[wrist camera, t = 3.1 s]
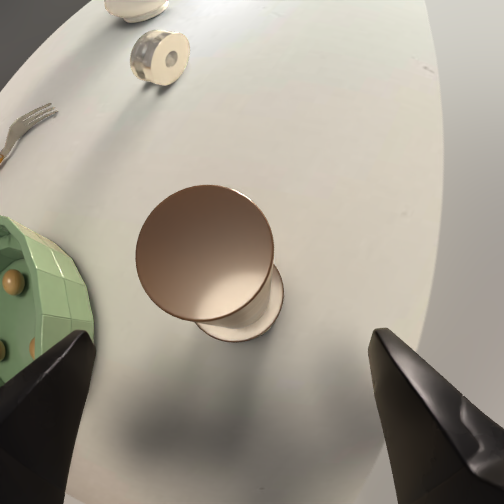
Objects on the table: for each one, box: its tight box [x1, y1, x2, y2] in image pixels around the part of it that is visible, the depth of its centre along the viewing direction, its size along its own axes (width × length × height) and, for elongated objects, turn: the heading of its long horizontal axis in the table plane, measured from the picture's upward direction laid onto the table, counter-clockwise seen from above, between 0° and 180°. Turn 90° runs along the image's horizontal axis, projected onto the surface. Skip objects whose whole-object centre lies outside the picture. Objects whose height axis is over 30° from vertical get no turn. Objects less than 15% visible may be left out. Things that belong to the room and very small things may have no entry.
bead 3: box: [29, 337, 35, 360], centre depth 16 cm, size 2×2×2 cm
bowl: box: [0, 216, 94, 387], centre depth 15 cm, size 14×14×6 cm
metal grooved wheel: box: [130, 30, 190, 86], centre depth 21 cm, size 5×3×5 cm, turn 150°
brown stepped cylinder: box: [136, 185, 284, 342], centre depth 13 cm, size 4×4×12 cm
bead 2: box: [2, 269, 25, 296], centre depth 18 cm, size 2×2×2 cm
